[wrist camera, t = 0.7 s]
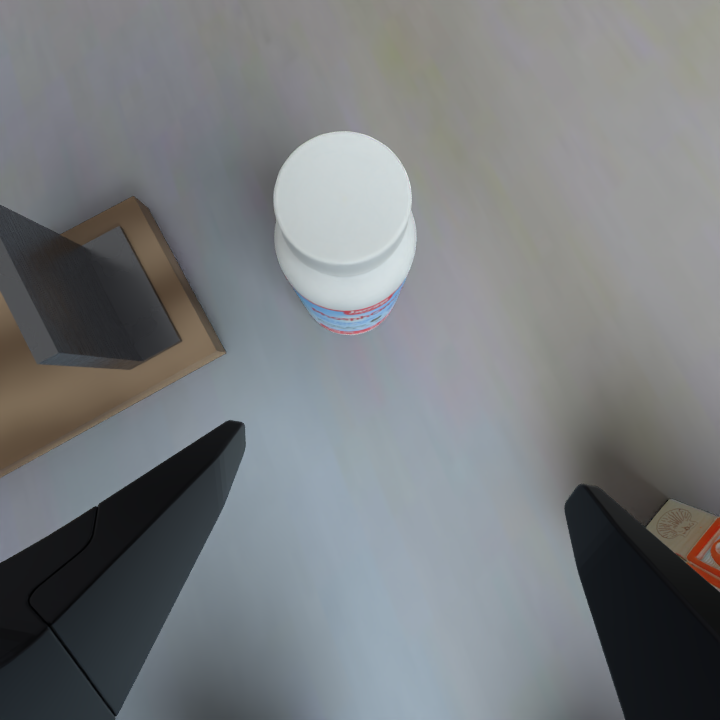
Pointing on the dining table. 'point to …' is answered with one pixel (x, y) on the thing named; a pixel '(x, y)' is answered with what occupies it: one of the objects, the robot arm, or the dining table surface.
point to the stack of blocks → (690, 537)
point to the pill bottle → (344, 229)
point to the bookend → (81, 297)
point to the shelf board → (97, 385)
